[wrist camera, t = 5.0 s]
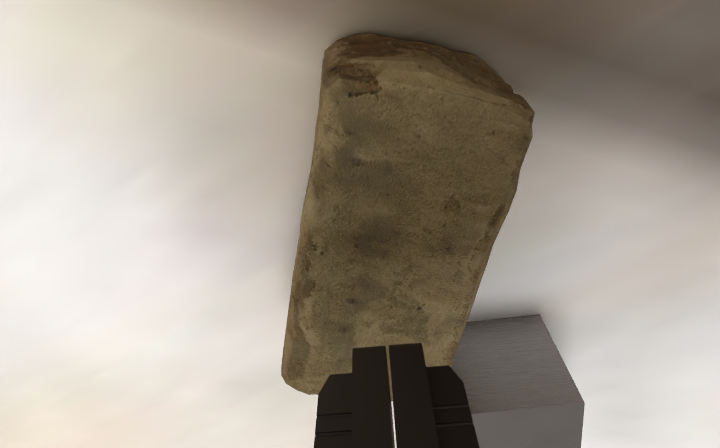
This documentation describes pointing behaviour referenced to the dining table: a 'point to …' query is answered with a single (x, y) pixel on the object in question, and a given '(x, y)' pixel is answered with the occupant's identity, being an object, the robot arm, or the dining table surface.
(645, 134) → the dining table surface
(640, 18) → the dining table surface
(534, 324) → the charcoal block
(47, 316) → the dining table surface
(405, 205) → the stone block
